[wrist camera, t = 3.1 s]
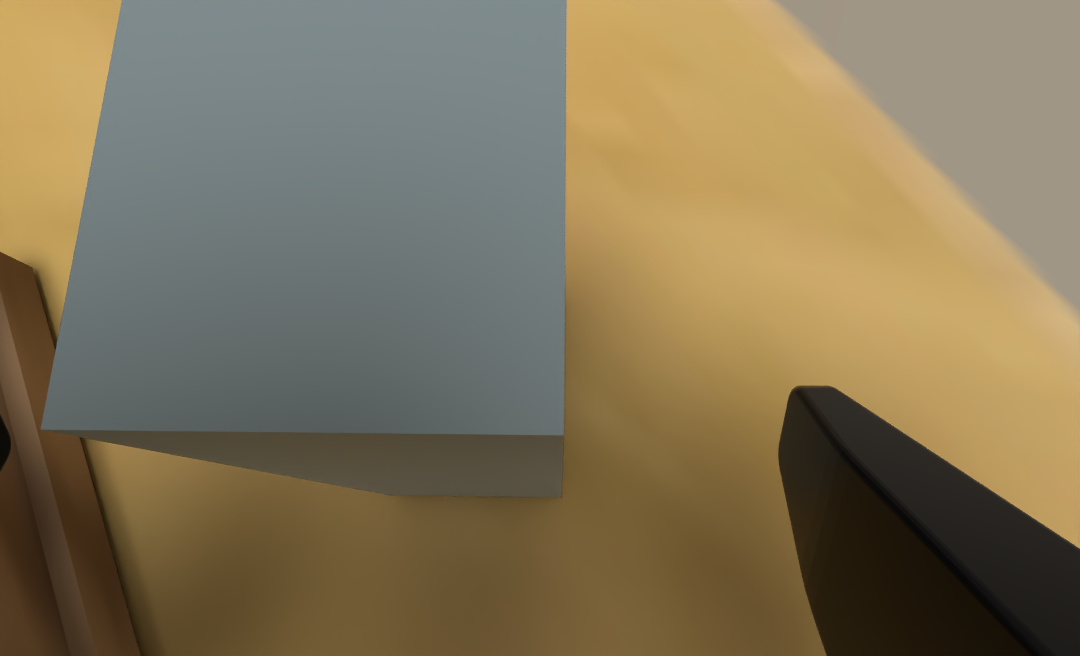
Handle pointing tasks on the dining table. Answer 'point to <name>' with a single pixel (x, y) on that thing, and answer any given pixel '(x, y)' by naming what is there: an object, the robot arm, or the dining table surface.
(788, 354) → the dining table surface
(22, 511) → the stand
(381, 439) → the grey rectangular block
